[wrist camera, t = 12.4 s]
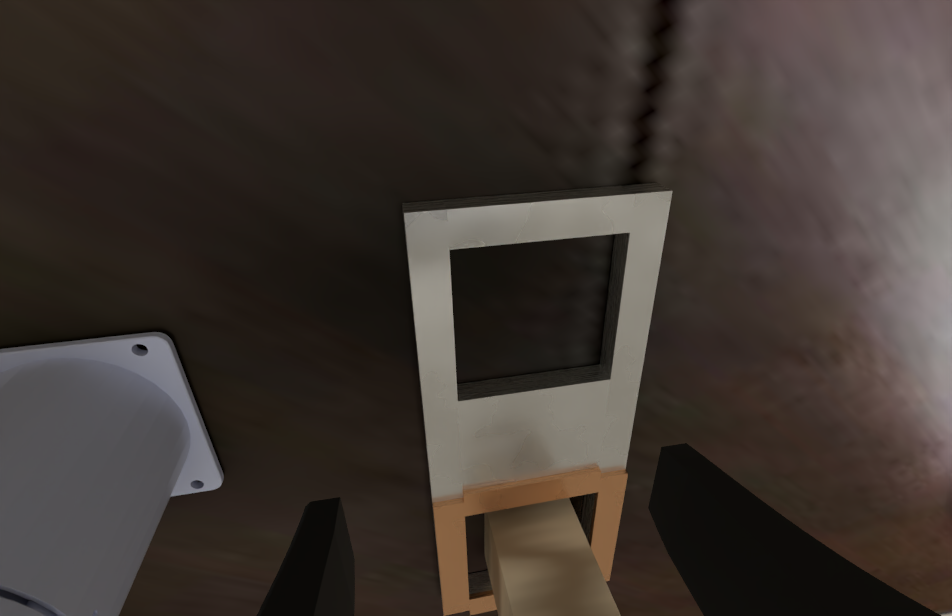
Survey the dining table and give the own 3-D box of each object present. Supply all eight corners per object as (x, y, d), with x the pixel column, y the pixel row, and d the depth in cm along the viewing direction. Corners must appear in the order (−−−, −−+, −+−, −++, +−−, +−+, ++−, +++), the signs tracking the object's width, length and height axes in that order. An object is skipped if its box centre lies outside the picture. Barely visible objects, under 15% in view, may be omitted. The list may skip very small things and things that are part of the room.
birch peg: (484, 554, 28) (521, 719, 22) (484, 501, 26) (525, 664, 19) (558, 540, 29) (617, 695, 22) (564, 487, 27) (631, 640, 20)
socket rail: (441, 595, 29) (444, 620, 28) (401, 203, 18) (404, 215, 17) (598, 563, 31) (608, 585, 30) (656, 182, 19) (676, 192, 18)
